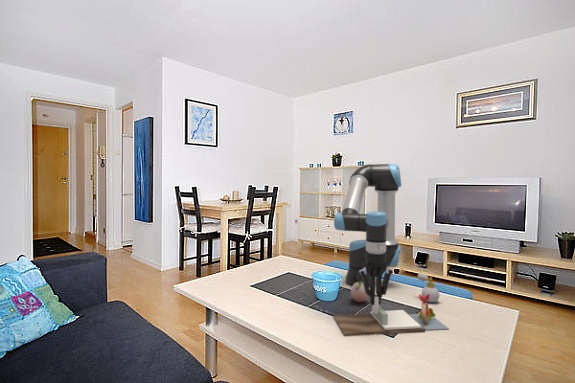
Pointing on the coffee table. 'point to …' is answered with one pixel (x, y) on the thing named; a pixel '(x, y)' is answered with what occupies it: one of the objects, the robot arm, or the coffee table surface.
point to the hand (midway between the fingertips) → (375, 312)
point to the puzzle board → (366, 325)
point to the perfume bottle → (429, 288)
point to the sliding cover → (395, 319)
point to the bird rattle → (425, 310)
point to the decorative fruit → (359, 292)
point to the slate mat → (429, 323)
